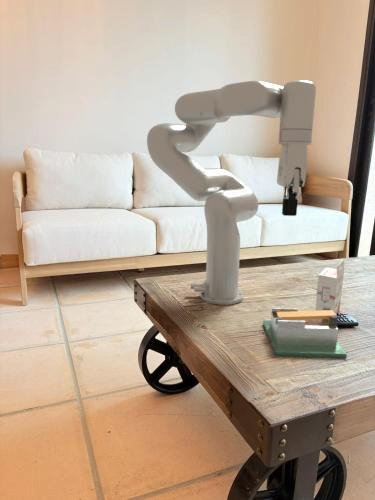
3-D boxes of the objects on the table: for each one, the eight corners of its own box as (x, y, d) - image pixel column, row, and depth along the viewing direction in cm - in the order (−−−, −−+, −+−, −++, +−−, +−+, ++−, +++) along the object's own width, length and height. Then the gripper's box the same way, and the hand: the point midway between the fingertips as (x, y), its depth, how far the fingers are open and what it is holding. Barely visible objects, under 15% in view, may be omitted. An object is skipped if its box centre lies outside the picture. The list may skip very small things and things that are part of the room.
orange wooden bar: (279, 320, 89) (279, 317, 88) (276, 315, 92) (276, 312, 91) (336, 318, 88) (336, 315, 88) (332, 313, 91) (332, 310, 91)
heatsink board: (275, 356, 84) (277, 325, 82) (263, 324, 99) (264, 298, 97) (346, 358, 83) (350, 327, 82) (323, 325, 99) (325, 299, 97)
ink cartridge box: (321, 306, 111) (326, 256, 108) (339, 310, 109) (345, 259, 105) (313, 316, 104) (318, 263, 101) (333, 321, 102) (339, 266, 98)
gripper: (273, 138, 100) (268, 210, 105) (285, 136, 86) (279, 220, 90) (302, 139, 100) (296, 211, 104) (320, 137, 85) (312, 220, 90)
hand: (289, 215), depth 97 cm, fingers closed
